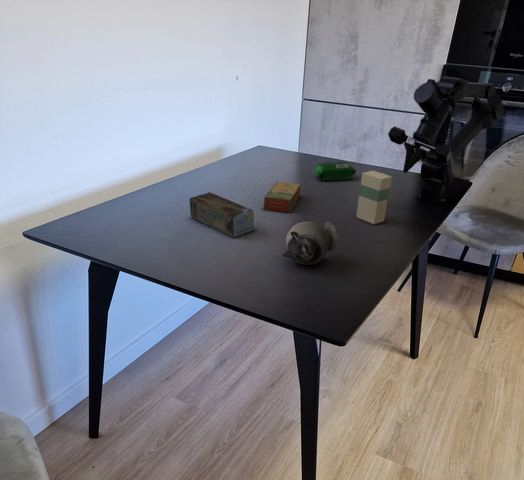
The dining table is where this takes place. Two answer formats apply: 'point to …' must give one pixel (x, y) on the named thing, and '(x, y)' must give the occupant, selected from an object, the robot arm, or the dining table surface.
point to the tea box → (373, 196)
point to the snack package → (334, 171)
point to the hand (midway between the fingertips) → (404, 172)
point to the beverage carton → (222, 214)
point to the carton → (282, 197)
